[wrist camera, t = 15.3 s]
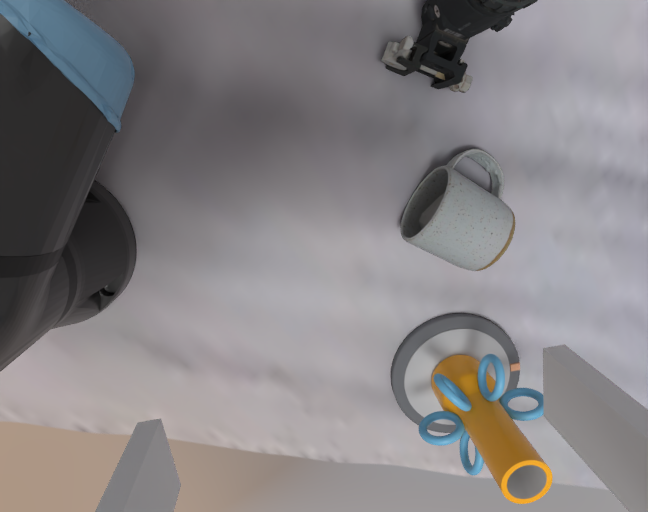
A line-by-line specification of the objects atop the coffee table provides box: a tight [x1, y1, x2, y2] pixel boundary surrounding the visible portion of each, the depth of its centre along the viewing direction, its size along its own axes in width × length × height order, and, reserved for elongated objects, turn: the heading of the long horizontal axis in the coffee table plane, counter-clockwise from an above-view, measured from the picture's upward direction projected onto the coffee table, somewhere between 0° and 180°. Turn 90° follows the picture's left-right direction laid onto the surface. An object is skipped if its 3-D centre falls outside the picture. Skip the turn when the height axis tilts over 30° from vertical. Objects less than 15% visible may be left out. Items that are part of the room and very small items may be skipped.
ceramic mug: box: [401, 149, 515, 271], centre depth 41 cm, size 11×8×8 cm
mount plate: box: [391, 313, 520, 433], centre depth 50 cm, size 14×14×1 cm
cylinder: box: [419, 354, 552, 504], centre depth 42 cm, size 12×10×15 cm
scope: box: [382, 0, 537, 93], centre depth 34 cm, size 8×14×10 cm
